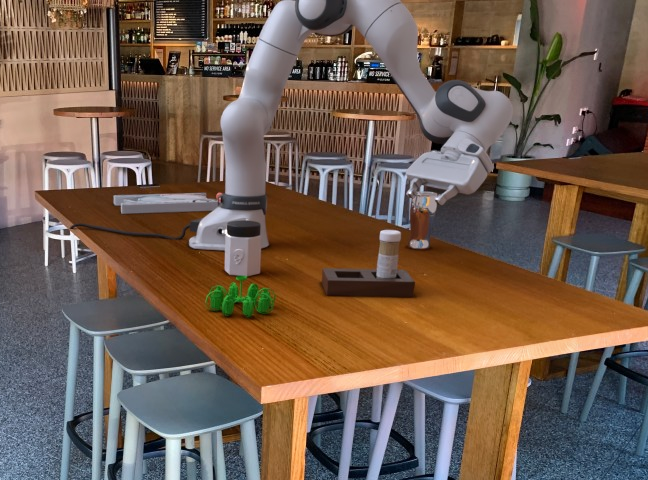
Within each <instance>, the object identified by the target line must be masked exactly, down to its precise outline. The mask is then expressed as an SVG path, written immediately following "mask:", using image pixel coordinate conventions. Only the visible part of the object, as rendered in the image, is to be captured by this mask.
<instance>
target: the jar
mask: <svg viewBox="0 0 648 480" xmlns="http://www.w3.org/2000/svg"><path fill="white" fill-rule="evenodd" d="M260 229H261V224H260V223H258V222H255V221H246V220H238V221H231V222H228V223H227V233H226V235H225V251H224V272H226V273H227V274H228V275H229V276H235V277H236V276H246V277H247V278H248V277H251V276H255V275H259V274H261V263H262V262H261V259H262V248H261V239H262V236H261V235H260Z"/></svg>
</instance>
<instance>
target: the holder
mask: <svg viewBox="0 0 648 480" xmlns="http://www.w3.org/2000/svg"><path fill="white" fill-rule="evenodd" d="M321 270H322V272H321V285H322V287H323V289H324V292H325V294H326V297H327V296H328V297H329V296H331V297H333V296H334V297H381V298H382V297H384V298H387V297H388V298H391V297H392V298H414V296H415V287H416V281H415V280H414V279H413V278H412V276H411V275H410V274H409V273H408V272H407V271H406V270H405V269H397V273H396V279H384V278H376V277H377V275H376V274H377V268H331V267H330V268H325V267H323V268H322V269H321Z"/></svg>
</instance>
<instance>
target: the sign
mask: <svg viewBox="0 0 648 480" xmlns="http://www.w3.org/2000/svg"><path fill="white" fill-rule="evenodd" d="M113 205H114V206H120V213H121V215H122V214H124V215H126V214H150V213H151V214H153V213H156V214H157V213H181V212H182V213H183V212H184V213H185V212H187V213H188V212H212V211H213V210H215V209H216V208H217V207H219V206H218V200H217V199H215V198H207V192H188V193H187V192H186V193H185V192H184V193H154V194H152V193H151V194H117V195H116V194H115V195H113Z"/></svg>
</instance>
